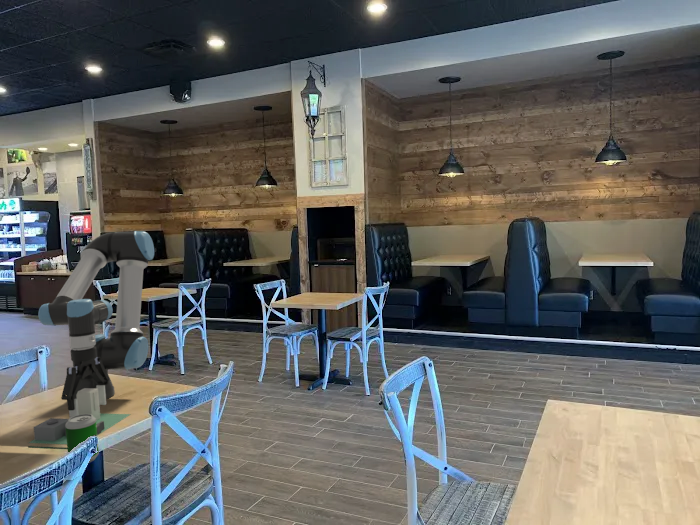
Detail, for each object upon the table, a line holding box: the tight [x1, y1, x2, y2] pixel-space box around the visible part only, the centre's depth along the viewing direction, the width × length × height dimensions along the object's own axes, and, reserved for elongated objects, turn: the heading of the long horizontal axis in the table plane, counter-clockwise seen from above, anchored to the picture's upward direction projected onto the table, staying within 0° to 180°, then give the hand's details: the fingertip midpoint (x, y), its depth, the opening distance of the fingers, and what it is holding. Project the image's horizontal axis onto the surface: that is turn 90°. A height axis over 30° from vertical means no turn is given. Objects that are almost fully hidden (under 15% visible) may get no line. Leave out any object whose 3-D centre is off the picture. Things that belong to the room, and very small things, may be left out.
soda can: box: [65, 414, 100, 464], centre depth 145 cm, size 8×8×12 cm
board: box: [28, 412, 132, 450], centre depth 165 cm, size 24×18×6 cm
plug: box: [76, 388, 101, 420], centre depth 171 cm, size 4×6×10 cm
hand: (88, 411), depth 171 cm, fingers open, 13 cm apart
